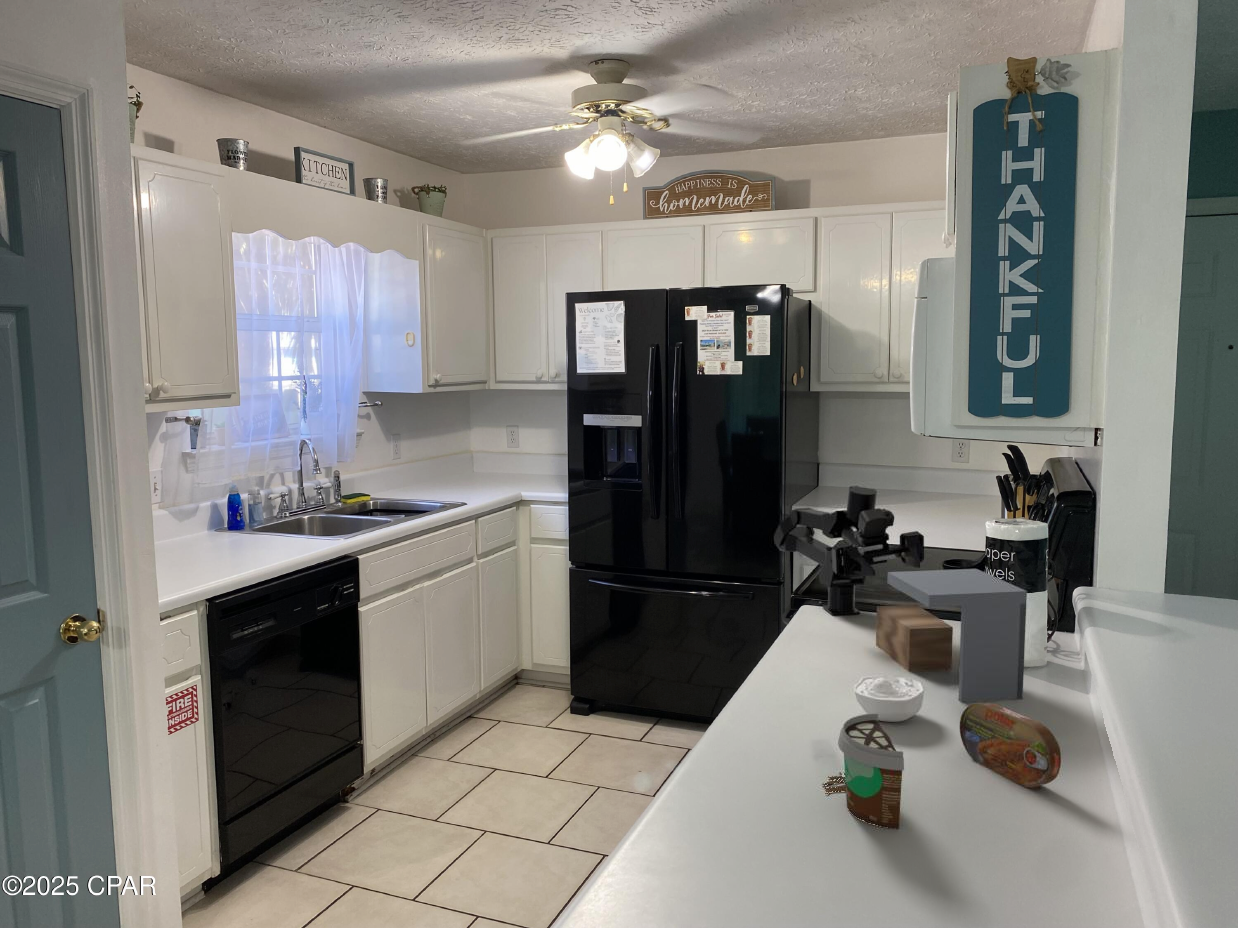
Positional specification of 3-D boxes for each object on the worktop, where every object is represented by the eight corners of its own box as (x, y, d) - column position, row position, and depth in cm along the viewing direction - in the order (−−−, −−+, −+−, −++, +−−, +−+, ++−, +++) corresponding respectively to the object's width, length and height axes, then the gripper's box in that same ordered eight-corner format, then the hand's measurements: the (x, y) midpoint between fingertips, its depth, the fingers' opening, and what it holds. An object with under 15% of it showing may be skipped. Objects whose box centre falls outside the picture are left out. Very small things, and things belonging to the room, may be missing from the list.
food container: (827, 785, 115) (828, 711, 114) (875, 785, 115) (876, 711, 114) (849, 835, 103) (850, 753, 102) (902, 835, 103) (904, 753, 102)
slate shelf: (885, 670, 158) (887, 572, 156) (972, 665, 160) (976, 568, 158) (926, 704, 142) (929, 595, 140) (1022, 698, 144) (1026, 591, 142)
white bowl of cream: (939, 716, 137) (940, 674, 136) (894, 737, 130) (895, 693, 129) (883, 698, 145) (884, 658, 144) (838, 717, 138) (838, 675, 137)
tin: (956, 752, 125) (958, 694, 124) (973, 748, 126) (975, 691, 125) (1045, 799, 111) (1048, 735, 110) (1063, 794, 112) (1066, 730, 111)
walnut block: (875, 646, 172) (876, 606, 172) (915, 644, 173) (916, 604, 172) (908, 672, 158) (909, 628, 157) (951, 670, 158) (952, 627, 157)
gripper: (819, 511, 182) (849, 538, 167) (904, 497, 184) (942, 523, 169) (821, 561, 185) (851, 591, 170) (905, 546, 187) (942, 576, 172)
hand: (896, 569), depth 171 cm, fingers open, 9 cm apart
